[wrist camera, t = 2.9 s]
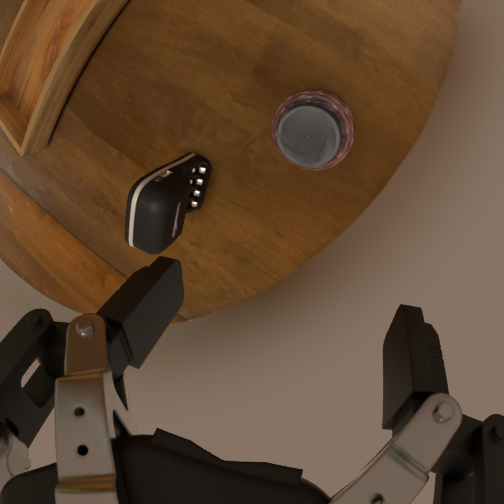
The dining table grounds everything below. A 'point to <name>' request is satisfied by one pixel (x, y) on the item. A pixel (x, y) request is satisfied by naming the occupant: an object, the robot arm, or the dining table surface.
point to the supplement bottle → (313, 129)
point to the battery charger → (165, 202)
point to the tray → (46, 63)
